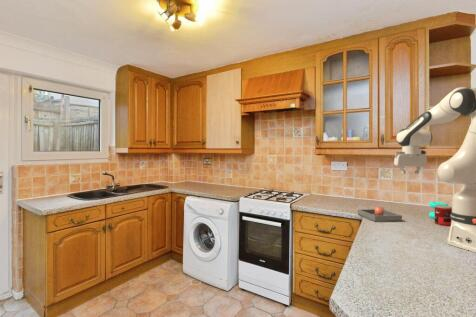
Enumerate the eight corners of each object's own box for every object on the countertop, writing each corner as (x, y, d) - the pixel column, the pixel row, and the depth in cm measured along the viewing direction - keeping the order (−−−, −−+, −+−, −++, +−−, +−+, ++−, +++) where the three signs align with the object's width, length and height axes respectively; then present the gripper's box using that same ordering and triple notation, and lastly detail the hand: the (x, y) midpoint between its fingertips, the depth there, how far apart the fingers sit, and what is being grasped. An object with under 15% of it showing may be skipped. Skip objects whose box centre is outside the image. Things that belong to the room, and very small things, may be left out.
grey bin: (401, 221, 157) (401, 215, 157) (374, 221, 155) (374, 216, 155) (382, 214, 175) (382, 209, 175) (357, 214, 173) (357, 209, 173)
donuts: (452, 204, 162) (438, 204, 161) (452, 219, 162) (438, 220, 161) (439, 201, 172) (425, 201, 171) (438, 216, 172) (425, 216, 171)
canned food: (435, 221, 157) (435, 204, 156) (452, 224, 151) (452, 206, 151) (433, 224, 151) (433, 205, 151) (450, 227, 146) (451, 208, 145)
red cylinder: (385, 217, 163) (385, 208, 163) (377, 217, 162) (378, 208, 162) (379, 215, 168) (380, 206, 168) (372, 215, 167) (373, 206, 167)
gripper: (399, 151, 154) (398, 173, 155) (429, 151, 157) (428, 173, 157) (391, 151, 161) (391, 173, 161) (420, 151, 163) (420, 173, 163)
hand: (410, 173), depth 159 cm, fingers open, 8 cm apart
